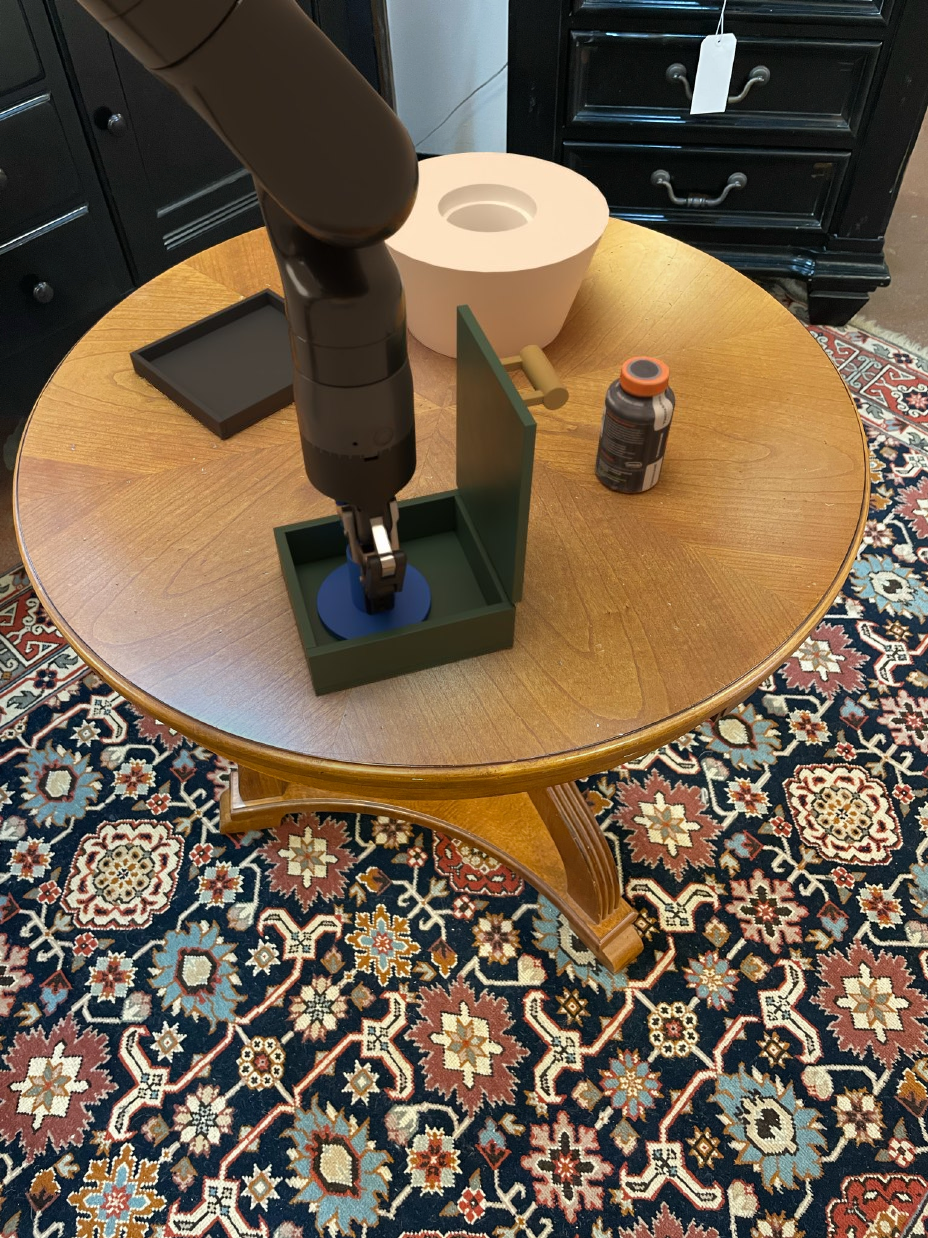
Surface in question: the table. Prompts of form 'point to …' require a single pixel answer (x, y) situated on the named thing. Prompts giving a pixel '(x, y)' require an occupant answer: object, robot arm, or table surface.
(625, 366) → the pill bottle
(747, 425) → the table surface
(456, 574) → the green chest
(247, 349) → the tray
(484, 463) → the chest lid
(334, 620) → the blue lid
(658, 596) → the table surface
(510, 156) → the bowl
